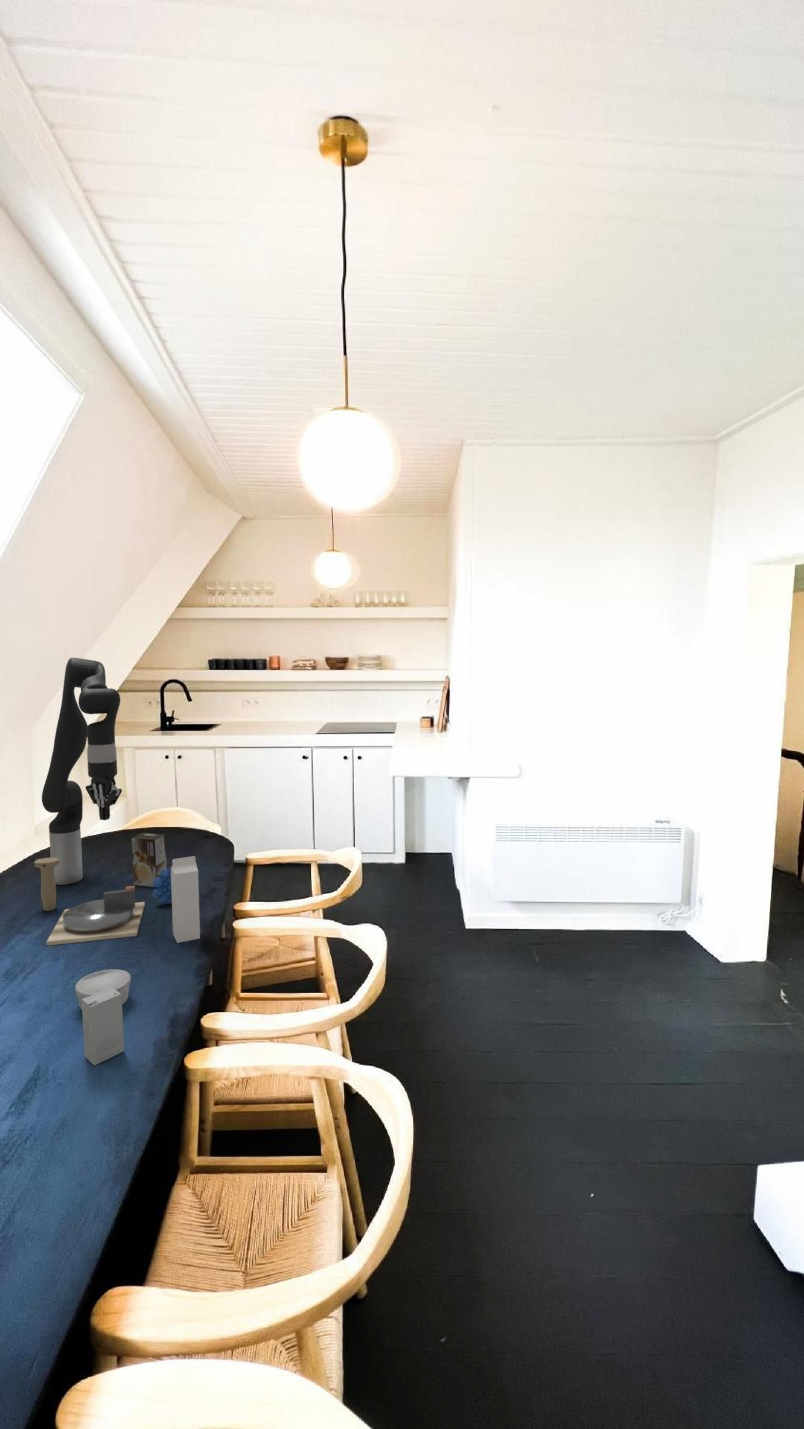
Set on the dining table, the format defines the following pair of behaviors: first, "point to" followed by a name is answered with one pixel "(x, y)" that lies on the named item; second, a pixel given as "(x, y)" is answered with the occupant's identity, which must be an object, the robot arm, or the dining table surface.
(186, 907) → the milk
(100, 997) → the skincare box
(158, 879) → the grapes
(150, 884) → the coffee box
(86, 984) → the ramekin
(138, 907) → the base plate
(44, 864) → the handle
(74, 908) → the dial
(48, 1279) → the dining table surface
